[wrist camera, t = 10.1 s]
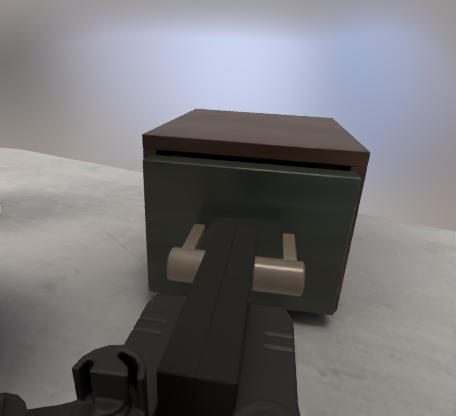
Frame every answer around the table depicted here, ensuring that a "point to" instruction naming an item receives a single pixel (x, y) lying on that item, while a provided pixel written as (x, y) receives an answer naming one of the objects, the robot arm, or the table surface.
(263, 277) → the drawer
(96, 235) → the table surface
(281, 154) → the cabinet
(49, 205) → the table surface
